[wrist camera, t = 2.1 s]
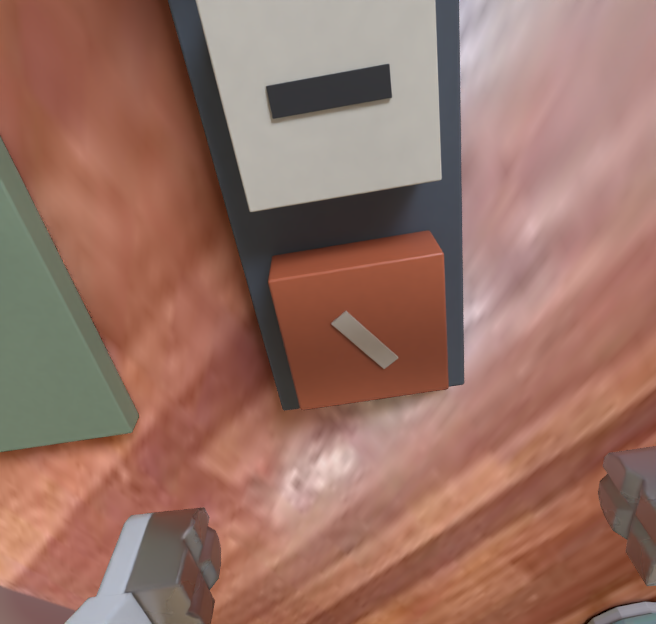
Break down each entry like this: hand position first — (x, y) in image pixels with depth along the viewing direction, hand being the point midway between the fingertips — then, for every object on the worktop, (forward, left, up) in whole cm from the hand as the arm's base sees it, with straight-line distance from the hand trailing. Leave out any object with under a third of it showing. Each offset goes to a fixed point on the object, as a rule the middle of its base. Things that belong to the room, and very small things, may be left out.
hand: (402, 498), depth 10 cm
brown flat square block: (0, 0, -7) cm, 7 cm away
